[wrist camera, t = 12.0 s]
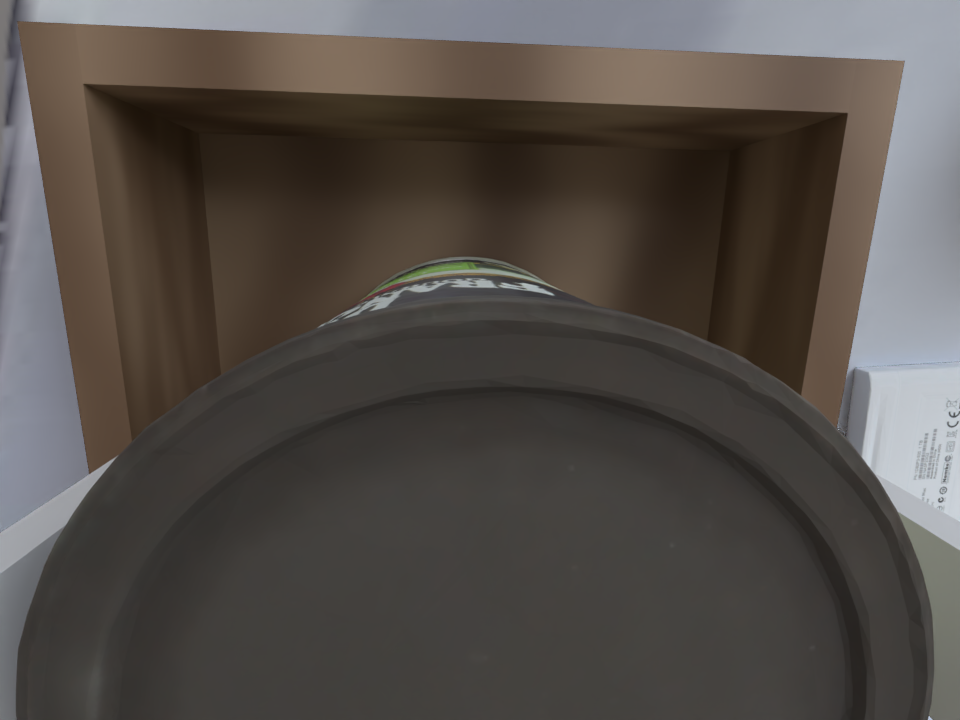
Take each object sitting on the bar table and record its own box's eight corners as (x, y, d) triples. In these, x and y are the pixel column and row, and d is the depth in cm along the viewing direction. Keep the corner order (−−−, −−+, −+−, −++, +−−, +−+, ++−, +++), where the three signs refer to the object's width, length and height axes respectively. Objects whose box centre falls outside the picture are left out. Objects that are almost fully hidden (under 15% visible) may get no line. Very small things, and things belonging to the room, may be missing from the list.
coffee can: (271, 341, 19) (-232, 618, 5) (525, 203, 18) (757, 82, 4) (412, 561, 21) (337, 1170, 7) (642, 445, 20) (1038, 869, 7)
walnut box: (752, 121, 19) (904, 61, 12) (689, 607, 23) (778, 743, 17) (172, 100, 18) (17, 21, 11) (225, 617, 22) (136, 767, 16)
